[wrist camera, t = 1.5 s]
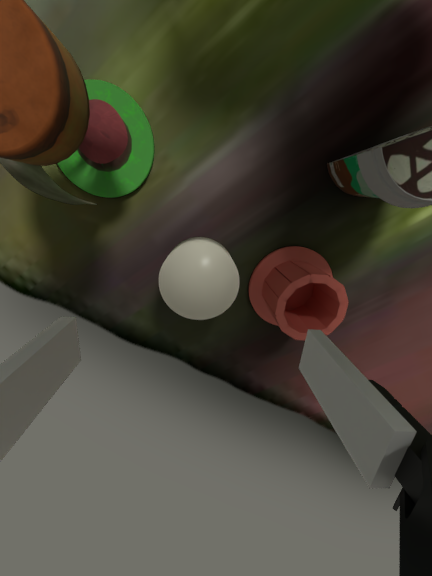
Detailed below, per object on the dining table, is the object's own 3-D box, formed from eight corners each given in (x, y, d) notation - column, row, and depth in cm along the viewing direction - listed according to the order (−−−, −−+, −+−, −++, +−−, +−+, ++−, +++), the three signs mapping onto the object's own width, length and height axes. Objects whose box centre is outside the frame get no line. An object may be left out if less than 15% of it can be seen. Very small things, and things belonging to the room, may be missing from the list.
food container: (323, 221, 29) (381, 230, 19) (313, 168, 27) (373, 149, 17) (424, 186, 28) (536, 177, 19) (422, 128, 26) (547, 85, 16)
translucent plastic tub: (98, 35, 22) (-90, -267, 8) (181, 160, 26) (153, 107, 12) (11, 118, 24) (-269, -6, 10) (100, 223, 28) (-8, 244, 14)
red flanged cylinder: (254, 242, 29) (269, 253, 23) (339, 249, 30) (377, 262, 23) (243, 321, 33) (253, 351, 26) (319, 325, 34) (347, 355, 27)
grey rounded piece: (169, 231, 28) (158, 240, 22) (234, 236, 29) (244, 246, 22) (168, 293, 31) (158, 317, 24) (228, 297, 32) (234, 321, 25)
